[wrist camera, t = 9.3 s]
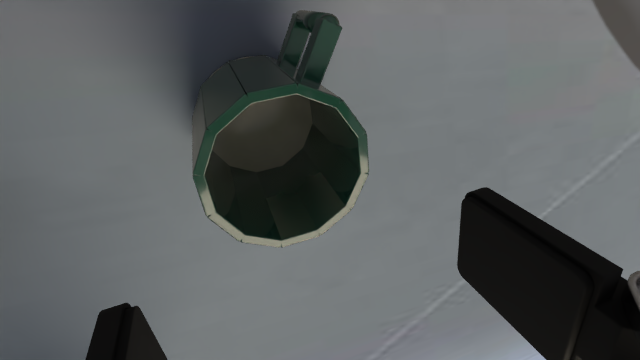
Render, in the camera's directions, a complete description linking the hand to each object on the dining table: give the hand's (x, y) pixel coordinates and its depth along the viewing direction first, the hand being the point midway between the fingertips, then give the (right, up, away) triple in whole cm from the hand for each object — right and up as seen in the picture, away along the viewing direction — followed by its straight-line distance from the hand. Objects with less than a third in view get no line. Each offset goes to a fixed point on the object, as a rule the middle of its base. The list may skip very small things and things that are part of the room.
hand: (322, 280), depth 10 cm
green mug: (-3, +8, +11) cm, 14 cm away
